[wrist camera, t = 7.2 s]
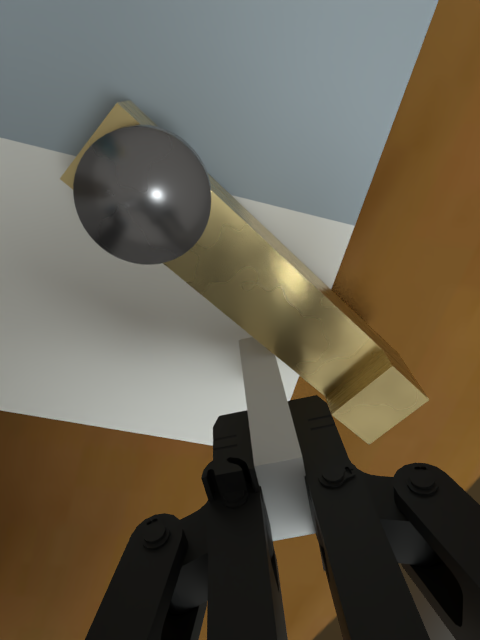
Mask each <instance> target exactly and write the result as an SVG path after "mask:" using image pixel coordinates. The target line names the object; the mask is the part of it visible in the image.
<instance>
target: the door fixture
mask: <svg viewBox="0 0 480 640" xmlns="http://www.w3.org/2000/svg"><path fill="white" fill-rule="evenodd" d="M437 3H438V0H0V410H1V411H7V412H13V413H19V414H25V415H32V416H38V417H44V418H50V419H56V420H62V421H68V422H74V423H80V424H86V425H92V426H98V427H104V428H110V429H116V430H122V431H128V432H134V433H140V434H146V435H152V436H158V437H164V438H170V439H176V440H182V441H188V442H194V443H200V444H206V445H213V426H214V424H215V422H216V420H217V419H218V417H219V416H221V415H226V414H231V413H236V412H241V411H246V410H247V404H246V396H245V388H244V380H243V372H242V364H241V356H240V348H239V340H241V339H245V338H250V337H252V336H251V335H250V334H248V333H247V332H246V331H245V330H244V329H242V328H241V327H240V326H239V325H237V324H236V323H235V322H234V321H233V320H231V319H230V318H229V317H228V316H226V315H225V314H224V313H223V312H222V311H220V310H219V309H218V308H217V307H215V306H214V305H213V304H212V303H211V302H209V301H208V300H207V299H206V298H205V297H203V296H202V295H201V294H200V293H198V292H197V291H196V290H195V289H194V288H192V287H191V286H190V285H189V284H187V283H186V282H185V281H184V280H183V279H181V278H180V277H179V276H178V275H176V274H175V273H174V272H173V271H172V270H170V269H169V268H168V267H167V266H165V265H164V264H163V263H161V264H153V265H142V264H135V263H131V262H127V261H124V260H122V259H119V258H117V257H115V256H113V255H111V254H110V253H108V252H107V251H105V250H104V249H102V248H101V247H100V246H99V245H98V244H97V243H96V242H95V241H94V240H93V239H92V238H91V237H90V236H89V234H88V233H87V231H86V230H85V229H84V227H83V225H82V223H81V221H80V219H79V216H78V214H77V211H76V207H75V203H74V196H73V189H71V188H70V187H69V186H68V185H67V184H65V183H64V182H63V181H62V180H60V178H61V176H62V175H63V174H64V172H65V171H66V170H67V168H68V167H69V166H70V164H71V163H72V162H73V160H74V159H75V158H76V156H77V155H78V154H79V152H80V151H81V150H82V148H83V147H84V146H85V144H86V143H87V142H88V140H89V139H90V138H91V136H92V135H93V134H94V132H95V131H96V130H97V128H98V127H99V126H100V124H101V123H102V122H103V120H104V119H105V118H106V116H107V115H108V114H109V112H110V111H111V110H112V108H113V107H114V106H115V104H116V103H117V102H123V101H129V100H131V101H132V102H133V103H134V104H135V105H136V106H137V107H138V108H139V109H140V110H141V111H142V112H143V113H144V114H146V115H147V116H148V117H149V118H150V119H151V120H152V121H153V122H154V123H155V124H156V125H157V126H158V127H161V128H164V129H166V130H169V131H171V132H173V133H175V134H176V135H178V136H179V137H181V138H182V139H184V140H185V141H186V142H187V143H188V144H189V145H190V146H191V147H192V148H193V149H194V150H195V151H196V153H197V154H198V155H199V157H200V158H201V160H202V162H203V164H204V165H205V168H206V170H207V173H208V174H209V175H210V176H211V177H212V178H213V179H214V180H215V181H217V182H218V183H219V184H220V185H221V186H222V187H223V188H224V189H225V190H226V191H227V192H228V193H229V194H230V195H231V196H232V197H233V198H235V199H236V200H237V201H238V202H239V203H240V204H241V205H242V206H243V207H244V208H245V209H246V210H247V211H248V212H249V213H250V214H251V215H253V216H254V217H255V218H256V219H257V220H258V221H259V222H260V223H261V224H262V225H263V226H264V227H265V228H266V229H267V230H268V231H269V232H271V233H272V234H273V235H274V236H275V237H276V238H277V239H278V240H279V241H280V242H281V243H282V244H283V245H284V246H285V247H286V248H287V249H289V250H290V251H291V252H292V253H293V254H294V255H295V256H296V257H297V258H298V259H299V260H300V261H301V262H302V263H303V264H304V265H305V266H307V267H308V268H309V269H310V270H311V271H312V272H313V273H314V274H315V275H316V276H317V277H318V278H319V279H320V280H321V281H322V282H323V283H325V284H326V285H327V286H328V287H329V288H330V289H331V288H332V286H333V283H334V280H335V278H336V275H337V272H338V270H339V267H340V264H341V261H342V259H343V256H344V253H345V251H346V248H347V245H348V243H349V240H350V237H351V234H352V232H353V229H354V226H355V224H356V221H357V218H358V216H359V213H360V210H361V208H362V205H363V202H364V199H365V197H366V194H367V191H368V189H369V186H370V183H371V181H372V178H373V175H374V173H375V170H376V167H377V164H378V162H379V159H380V156H381V154H382V151H383V148H384V146H385V143H386V140H387V137H388V135H389V132H390V129H391V127H392V124H393V121H394V119H395V116H396V113H397V111H398V108H399V105H400V102H401V100H402V97H403V94H404V92H405V89H406V86H407V84H408V81H409V78H410V76H411V73H412V70H413V67H414V65H415V62H416V59H417V57H418V54H419V51H420V49H421V46H422V43H423V41H424V38H425V35H426V32H427V30H428V27H429V24H430V22H431V19H432V16H433V14H434V11H435V8H436V5H437ZM276 360H277V364H278V367H279V371H280V375H281V379H282V382H283V386H284V390H285V394H286V397H287V401H290V399H291V396H292V393H293V391H294V388H295V385H296V383H297V380H298V377H299V374H297V373H296V372H295V371H294V370H292V369H291V368H290V367H289V366H288V365H286V364H285V363H284V362H283V361H281V360H280V359H279V358H278V357H277V356H276Z"/></svg>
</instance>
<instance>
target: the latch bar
mask: <svg viewBox="0 0 480 640" xmlns="http://www.w3.org/2000/svg"><path fill="white" fill-rule="evenodd" d="M60 180H62V181H63V182H64V183H65V184H67V185H68V186H69V187H70V188H71V189H73V196H74V203H75V207H76V211H77V214H78V216H79V219H80V221H81V223H82V225H83V227H84V229H85V230H86V231H87V233H88V234H89V236H90V237H91V238H92V239H93V240H94V241H95V242H96V243H97V244H98V245H99V246H100V247H101V248H102V249H104V250H105V251H107V252H108V253H110V254H111V255H113V256H115V257H117V258H119V259H122V260H124V261H127V262H131V263H135V264H142V265H153V264H161V263H163V264H164V265H165V266H167V267H168V268H169V269H170V270H172V271H173V272H174V273H175V274H176V275H178V276H179V277H180V278H181V279H183V280H184V281H185V282H186V283H187V284H189V285H190V286H191V287H192V288H194V289H195V290H196V291H197V292H198V293H200V294H201V295H202V296H203V297H205V298H206V299H207V300H208V301H209V302H211V303H212V304H213V305H214V306H215V307H217V308H218V309H219V310H220V311H222V312H223V313H224V314H225V315H226V316H228V317H229V318H230V319H231V320H233V321H234V322H235V323H236V324H237V325H239V326H240V327H241V328H242V329H244V330H245V331H246V332H247V333H248V334H250V335H251V336H252V337H253V338H255V339H256V340H257V341H258V342H259V343H261V344H262V345H263V346H264V347H266V348H267V349H268V350H269V351H270V352H272V353H273V354H274V355H275V356H277V357H278V358H279V359H280V360H281V361H283V362H284V363H285V364H286V365H288V366H289V367H290V368H291V369H292V370H294V371H295V372H296V373H297V374H299V375H300V376H301V377H302V378H303V379H305V380H306V381H307V382H308V383H310V384H311V385H312V386H313V387H314V388H316V389H317V390H318V391H319V392H321V393H322V394H323V395H324V396H325V397H326V400H327V403H328V406H329V409H330V412H331V414H332V415H333V416H334V417H335V418H336V419H338V420H339V421H340V422H341V423H343V424H344V425H345V426H346V427H348V428H349V429H350V430H351V431H353V432H354V433H355V434H356V435H358V436H359V437H360V438H361V439H363V440H364V441H365V442H366V443H368V444H371V443H372V442H373V441H375V440H376V439H377V438H379V437H380V436H381V435H383V434H384V433H385V432H387V431H388V430H389V429H391V428H392V427H393V426H395V425H396V424H397V423H399V422H400V421H402V420H403V419H404V418H406V417H407V416H408V415H410V414H411V413H412V412H414V411H415V410H416V409H418V408H419V407H420V406H422V405H423V404H424V403H426V402H427V401H428V400H429V399H428V397H427V396H426V394H425V393H424V391H423V390H422V388H421V387H420V385H419V384H418V382H417V381H416V379H415V378H414V376H413V375H412V373H411V372H410V370H409V369H408V367H407V366H406V364H405V363H404V361H403V360H402V358H401V357H400V355H399V354H398V352H397V351H395V350H394V349H393V348H392V347H391V346H390V345H389V344H388V343H387V342H386V341H385V340H384V339H383V338H382V337H381V336H380V335H379V334H377V333H376V332H375V331H374V330H373V329H372V328H371V327H370V326H369V325H368V324H367V323H366V322H365V321H364V320H363V319H362V318H361V317H359V316H358V315H357V314H356V313H355V312H354V311H353V310H352V309H351V308H350V307H349V306H348V305H347V304H346V303H345V302H344V301H343V300H341V299H340V298H339V297H338V296H337V295H336V294H335V293H334V292H333V291H332V290H331V289H330V288H329V287H328V286H327V285H326V284H325V283H323V282H322V281H321V280H320V279H319V278H318V277H317V276H316V275H315V274H314V273H313V272H312V271H311V270H310V269H309V268H308V267H307V266H305V265H304V264H303V263H302V262H301V261H300V260H299V259H298V258H297V257H296V256H295V255H294V254H293V253H292V252H291V251H290V250H289V249H287V248H286V247H285V246H284V245H283V244H282V243H281V242H280V241H279V240H278V239H277V238H276V237H275V236H274V235H273V234H272V233H271V232H269V231H268V230H267V229H266V228H265V227H264V226H263V225H262V224H261V223H260V222H259V221H258V220H257V219H256V218H255V217H254V216H253V215H251V214H250V213H249V212H248V211H247V210H246V209H245V208H244V207H243V206H242V205H241V204H240V203H239V202H238V201H237V200H236V199H235V198H233V197H232V196H231V195H230V194H229V193H228V192H227V191H226V190H225V189H224V188H223V187H222V186H221V185H220V184H219V183H218V182H217V181H215V180H214V179H213V178H212V177H211V176H210V175H209V174H208V173H207V170H206V168H205V165H204V164H203V162H202V160H201V158H200V157H199V155H198V154H197V153H196V151H195V150H194V149H193V148H192V147H191V146H190V145H189V144H188V143H187V142H186V141H185V140H184V139H182V138H181V137H179V136H178V135H176V134H175V133H173V132H171V131H169V130H166V129H164V128H161V127H158V126H157V125H156V124H155V123H154V122H153V121H152V120H151V119H150V118H149V117H148V116H147V115H146V114H144V113H143V112H142V111H141V110H140V109H139V108H138V107H137V106H136V105H135V104H134V103H133V102H132V101H131V100H129V101H123V102H117V103H116V104H115V106H114V107H113V108H112V110H111V111H110V112H109V114H108V115H107V116H106V118H105V119H104V120H103V122H102V123H101V124H100V126H99V127H98V128H97V130H96V131H95V132H94V134H93V135H92V136H91V138H90V139H89V140H88V142H87V143H86V144H85V146H84V147H83V148H82V150H81V151H80V152H79V154H78V155H77V156H76V158H75V159H74V160H73V162H72V163H71V164H70V166H69V167H68V168H67V170H66V171H65V172H64V174H63V175H62V176H61V178H60Z"/></svg>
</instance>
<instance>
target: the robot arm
mask: <svg viewBox="0 0 480 640" xmlns="http://www.w3.org/2000/svg"><path fill="white" fill-rule="evenodd" d="M239 348H240V356H241V364H242V372H243V380H244V388H245V396H246V404H247V410H246V411H241V412H236V413H231V414H226V415H221V416H219V417H218V419H217V420H216V422H215V424H214V426H213V461H212V462H210V463H209V464H208V465H207V467H206V468H205V469H204V471H203V474H202V481H203V484H204V488H205V491H206V494H207V497H208V501H207V503H206V504H205V505H204V506H203V507H202V508H201V509H199V510H198V511H196V512H194V513H193V514H191V515H189V516H187V517H185V518H183V519H181V520H179V519H178V518H176V517H175V516H174V515H170V514H165V513H164V514H158V515H154V516H152V517H150V518H147V519H145V520H144V521H143V522H142V523H141V524H139V525H138V526H137V527H136V529H135V530H134V532H133V534H132V535H131V537H130V539H129V542H128V544H127V546H126V548H125V551H124V553H123V555H122V557H121V560H120V562H119V564H118V566H117V569H116V571H115V573H114V575H113V578H112V580H111V582H110V584H109V587H108V589H107V591H106V593H105V596H104V598H103V600H102V602H101V605H100V607H99V609H98V611H97V614H96V616H95V618H94V620H93V623H92V625H91V627H90V629H89V632H88V634H87V636H86V638H85V640H198V639H199V635H200V631H201V627H202V623H203V618H204V614H205V610H206V606H207V600H208V616H207V640H288V639H287V632H286V625H285V617H284V610H283V603H282V595H281V588H280V581H279V573H278V566H277V559H276V555H275V551H274V547H273V541H276V540H281V539H286V538H293V537H298V536H303V535H308V534H314V533H316V536H317V539H318V541H319V547H320V552H321V558H322V563H323V569H324V571H326V575H327V579H328V583H329V587H330V590H331V594H332V598H333V602H334V606H335V610H336V613H337V617H338V621H339V625H340V629H341V632H342V637H343V640H430V638H429V636H428V634H427V631H426V629H425V626H424V624H423V622H422V619H421V617H420V614H419V612H418V610H417V607H416V605H415V603H414V601H413V598H412V595H411V593H410V591H409V588H408V586H407V584H406V581H405V579H404V577H403V574H402V572H401V569H400V567H399V565H398V563H401V564H402V567H403V568H404V569H405V571H406V572H407V573H408V575H409V576H410V578H411V579H412V580H413V582H414V583H415V584H416V586H417V587H418V588H419V590H420V591H421V592H422V594H423V595H424V597H425V598H426V599H427V601H428V602H429V603H430V605H431V606H432V608H433V609H434V610H435V612H436V613H437V614H438V616H439V617H440V618H441V620H442V621H443V622H444V624H445V625H446V627H447V628H448V629H449V631H450V632H451V633H452V635H453V636H454V638H455V639H456V640H480V505H479V504H478V503H477V502H476V501H475V500H474V499H473V498H472V497H471V496H469V495H468V494H467V493H466V492H465V491H464V490H463V489H462V488H461V487H460V486H459V485H458V484H457V483H456V482H455V481H454V480H453V479H452V478H451V477H449V476H448V475H447V474H446V473H445V472H444V471H442V470H441V469H439V468H438V467H435V466H432V465H429V464H426V463H412V464H408V465H405V466H403V467H402V468H400V469H399V470H397V472H396V474H395V475H394V477H384V476H375V475H370V474H367V473H364V472H362V471H360V470H359V469H357V468H356V467H355V465H353V464H352V463H351V461H350V460H349V458H348V455H347V453H346V450H345V448H344V445H343V443H342V440H341V438H340V435H339V433H338V430H337V428H336V426H335V423H334V420H333V418H332V415H331V412H330V410H329V407H328V405H327V403H326V402H324V401H323V400H322V399H321V398H320V397H318V396H317V395H315V396H310V397H306V398H301V399H296V400H291V401H287V397H286V394H285V390H284V386H283V382H282V379H281V375H280V371H279V367H278V364H277V360H276V356H275V355H274V354H273V353H272V352H270V351H269V350H268V349H267V348H266V347H264V346H263V345H262V344H261V343H259V342H258V341H257V340H256V339H255V338H253V337H250V338H245V339H241V340H239Z"/></svg>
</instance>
